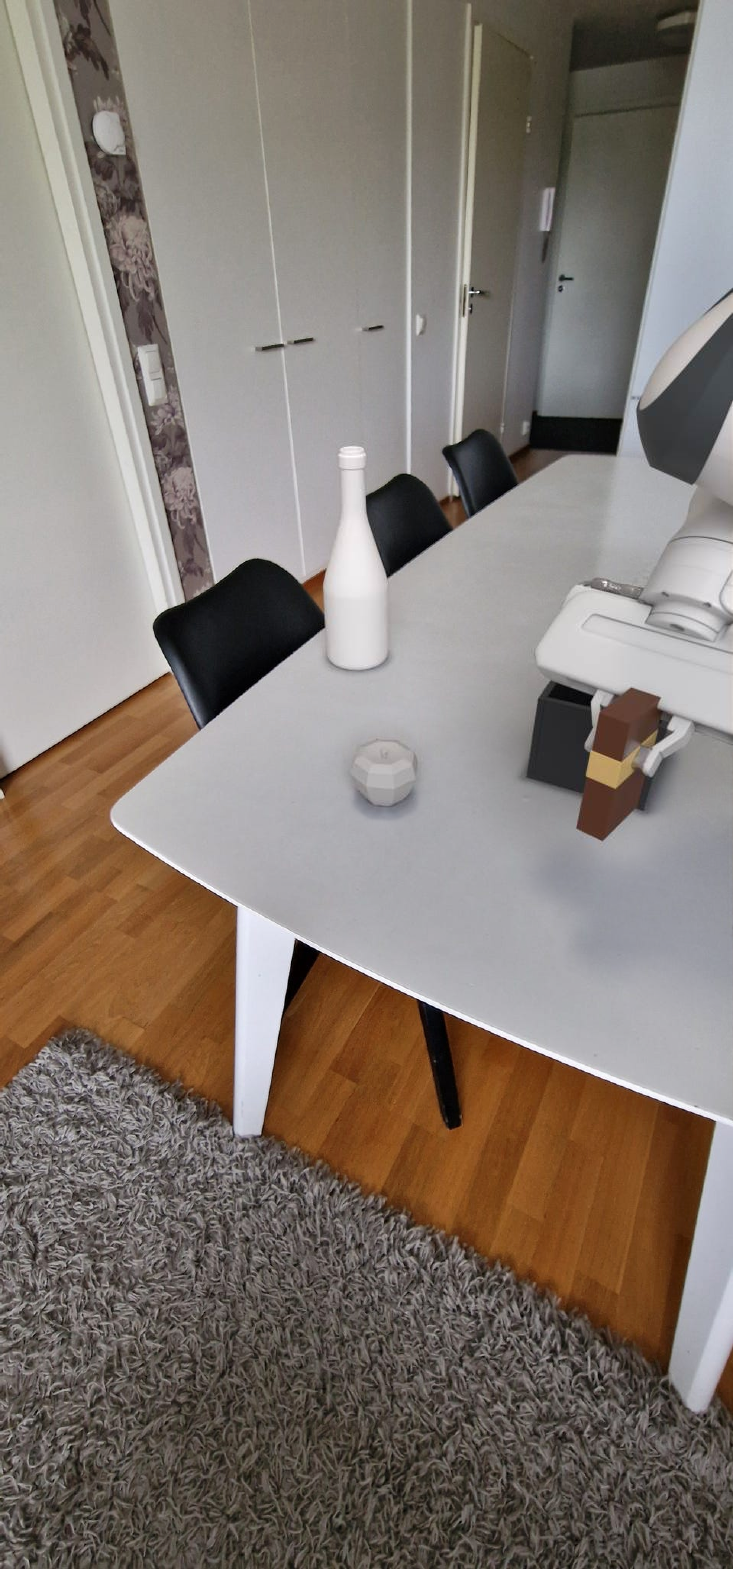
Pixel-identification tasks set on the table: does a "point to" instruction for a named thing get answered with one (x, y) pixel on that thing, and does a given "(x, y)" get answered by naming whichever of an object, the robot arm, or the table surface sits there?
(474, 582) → the table surface
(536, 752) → the waste bin
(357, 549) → the wine bottle
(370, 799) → the apple
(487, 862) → the table surface
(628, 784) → the chocolate bar
